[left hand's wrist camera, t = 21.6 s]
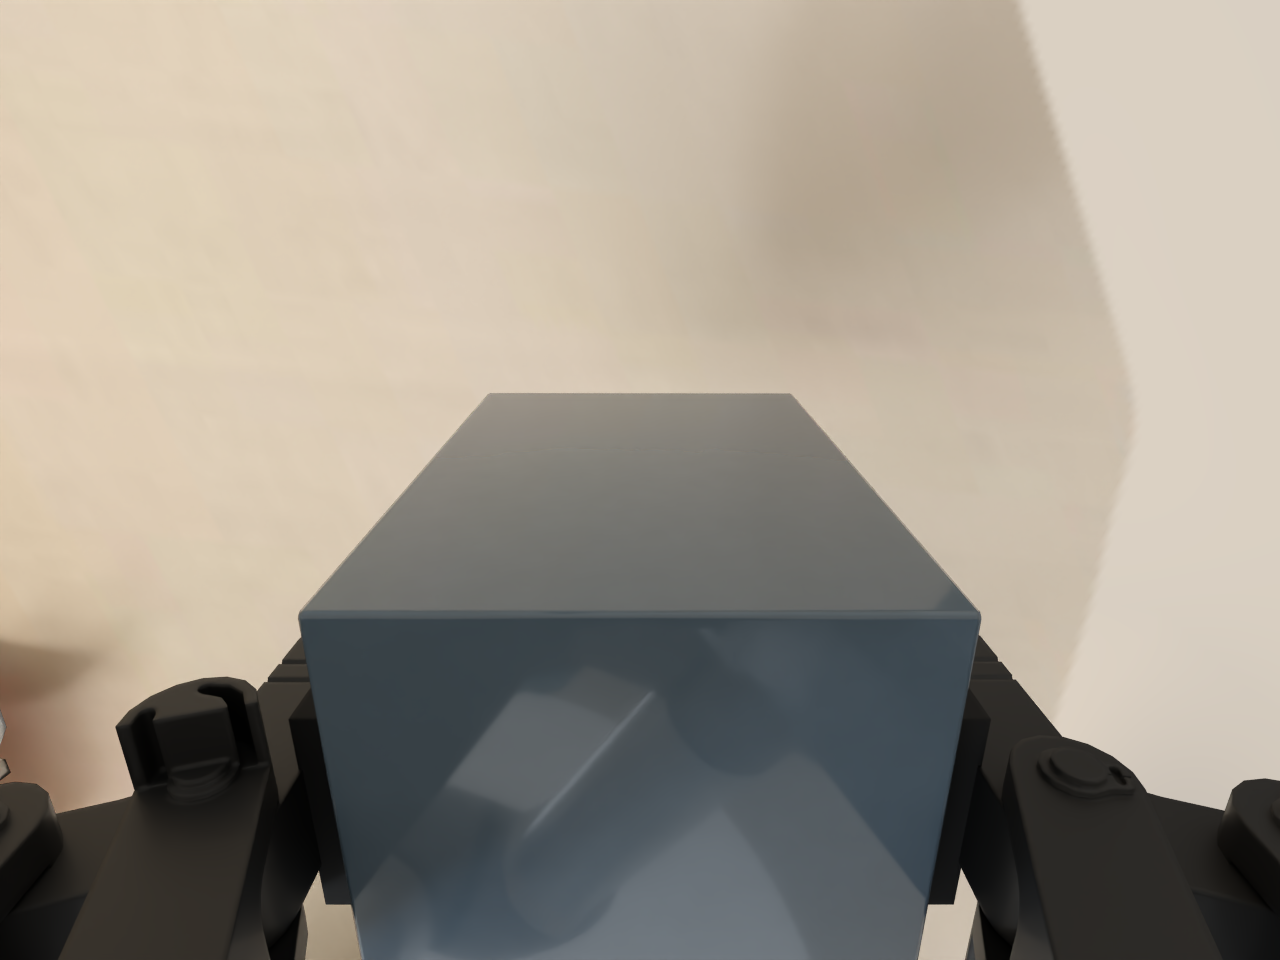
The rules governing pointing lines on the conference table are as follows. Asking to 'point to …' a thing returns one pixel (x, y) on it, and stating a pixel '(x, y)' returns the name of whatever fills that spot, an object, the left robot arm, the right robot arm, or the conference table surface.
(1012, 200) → the conference table surface
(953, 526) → the conference table surface
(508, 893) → the brick
